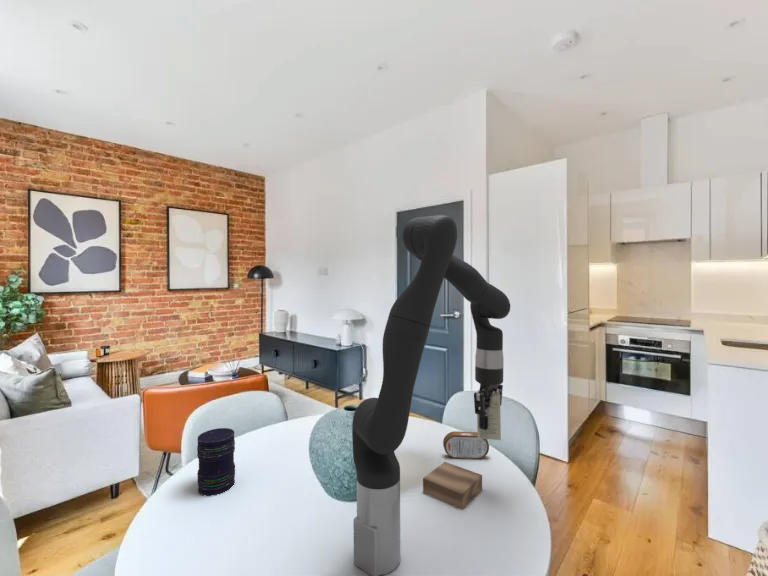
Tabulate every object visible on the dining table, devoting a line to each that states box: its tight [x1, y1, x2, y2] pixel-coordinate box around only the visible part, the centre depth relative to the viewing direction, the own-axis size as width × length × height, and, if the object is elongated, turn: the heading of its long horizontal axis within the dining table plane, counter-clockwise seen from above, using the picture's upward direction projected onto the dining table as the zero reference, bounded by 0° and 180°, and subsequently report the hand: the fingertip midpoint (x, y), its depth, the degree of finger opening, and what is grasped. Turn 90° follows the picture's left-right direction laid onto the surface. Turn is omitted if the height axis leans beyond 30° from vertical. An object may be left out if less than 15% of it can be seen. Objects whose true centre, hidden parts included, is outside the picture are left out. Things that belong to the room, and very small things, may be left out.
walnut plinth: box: [422, 461, 483, 510], centre depth 101 cm, size 12×12×4 cm
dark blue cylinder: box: [196, 427, 236, 497], centre depth 103 cm, size 10×10×15 cm
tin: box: [442, 430, 490, 460], centre depth 120 cm, size 15×3×8 cm, turn 86°
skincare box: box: [476, 389, 502, 441], centre depth 99 cm, size 6×4×12 cm
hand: (488, 425), depth 99 cm, fingers closed on skincare box, 5 cm apart
